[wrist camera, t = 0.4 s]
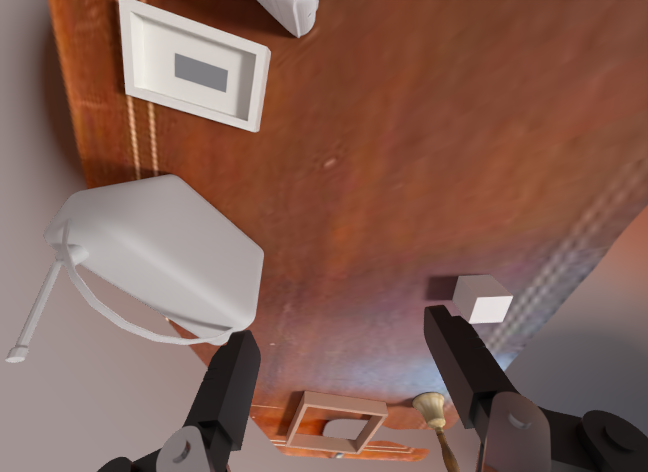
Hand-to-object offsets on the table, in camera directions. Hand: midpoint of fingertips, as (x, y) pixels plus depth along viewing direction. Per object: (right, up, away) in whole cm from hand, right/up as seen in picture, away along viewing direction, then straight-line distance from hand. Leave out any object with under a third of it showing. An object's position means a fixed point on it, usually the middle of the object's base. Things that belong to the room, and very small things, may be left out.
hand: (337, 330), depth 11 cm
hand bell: (+27, -40, +53) cm, 72 cm away
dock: (-15, +24, +19) cm, 34 cm away
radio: (-19, +6, +28) cm, 35 cm away
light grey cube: (+28, -6, +36) cm, 46 cm away
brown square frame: (+2, -47, +56) cm, 73 cm away
